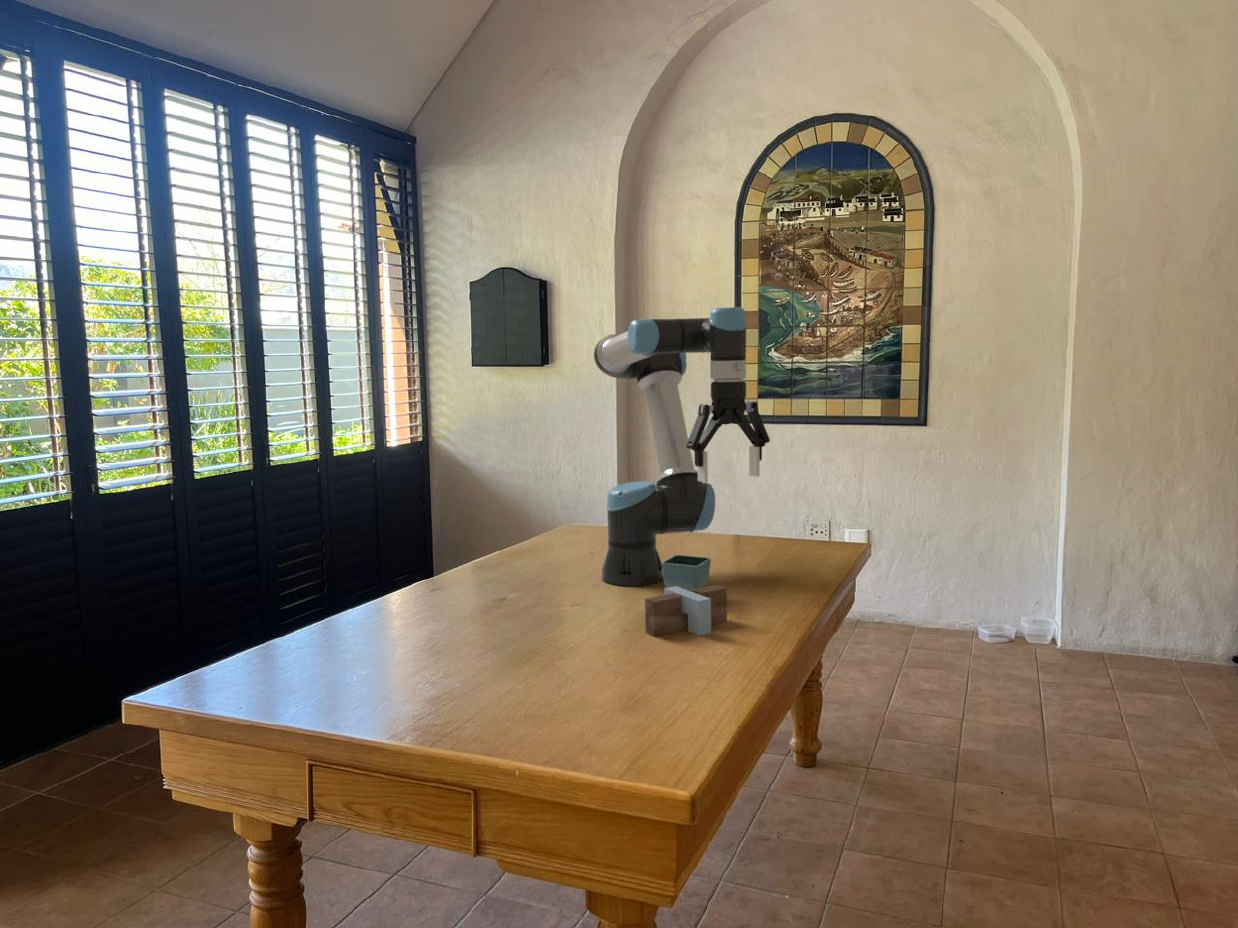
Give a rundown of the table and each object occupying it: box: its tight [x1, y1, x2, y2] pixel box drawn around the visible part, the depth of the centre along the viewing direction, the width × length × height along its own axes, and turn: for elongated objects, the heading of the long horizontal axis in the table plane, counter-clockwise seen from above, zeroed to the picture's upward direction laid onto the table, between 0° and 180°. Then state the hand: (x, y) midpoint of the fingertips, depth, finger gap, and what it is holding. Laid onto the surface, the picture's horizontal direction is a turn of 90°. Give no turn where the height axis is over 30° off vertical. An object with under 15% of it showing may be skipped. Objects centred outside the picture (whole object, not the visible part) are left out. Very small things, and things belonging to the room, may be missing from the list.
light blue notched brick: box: [663, 586, 712, 637], centre depth 189 cm, size 12×3×7 cm, turn 31°
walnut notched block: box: [644, 584, 728, 637], centre depth 190 cm, size 3×18×7 cm, turn 121°
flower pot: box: [661, 554, 712, 592], centre depth 210 cm, size 9×9×9 cm
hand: (728, 478), depth 203 cm, fingers open, 13 cm apart
